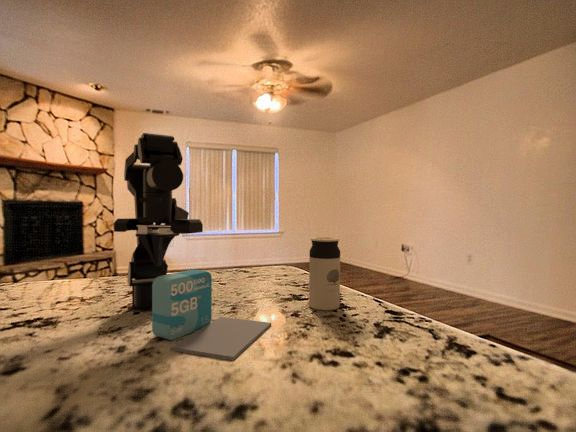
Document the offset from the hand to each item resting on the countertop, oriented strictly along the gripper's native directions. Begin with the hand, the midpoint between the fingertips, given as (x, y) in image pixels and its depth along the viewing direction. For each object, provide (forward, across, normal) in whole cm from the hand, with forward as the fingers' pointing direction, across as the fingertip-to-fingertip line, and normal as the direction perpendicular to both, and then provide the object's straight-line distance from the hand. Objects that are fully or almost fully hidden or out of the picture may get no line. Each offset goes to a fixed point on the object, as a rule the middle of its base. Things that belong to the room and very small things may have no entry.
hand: (158, 265), depth 73 cm
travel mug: (+13, -31, -26) cm, 43 cm away
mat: (+13, -17, +1) cm, 21 cm away
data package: (+13, -7, 0) cm, 15 cm away
